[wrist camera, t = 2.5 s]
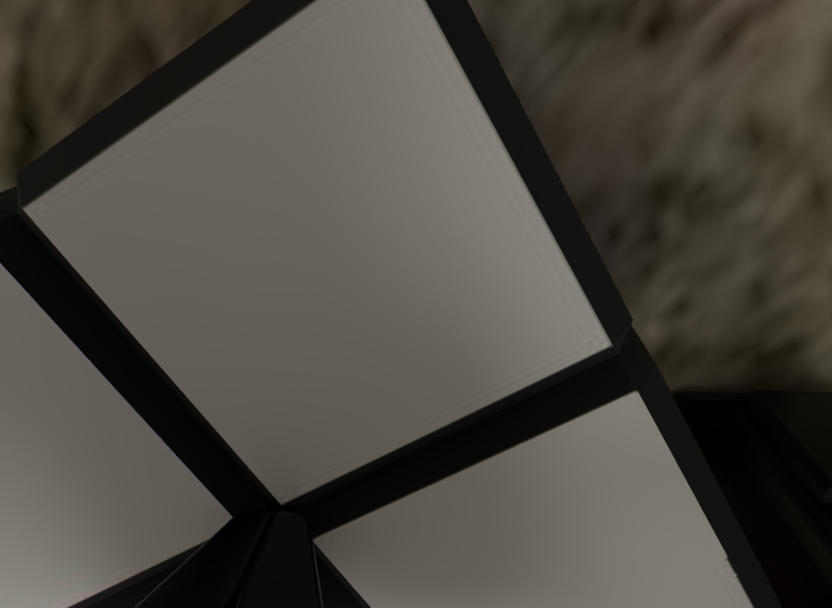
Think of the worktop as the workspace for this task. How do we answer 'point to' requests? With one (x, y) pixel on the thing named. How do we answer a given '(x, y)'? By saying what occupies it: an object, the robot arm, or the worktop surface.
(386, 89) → the puzzle cube
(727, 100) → the worktop surface
